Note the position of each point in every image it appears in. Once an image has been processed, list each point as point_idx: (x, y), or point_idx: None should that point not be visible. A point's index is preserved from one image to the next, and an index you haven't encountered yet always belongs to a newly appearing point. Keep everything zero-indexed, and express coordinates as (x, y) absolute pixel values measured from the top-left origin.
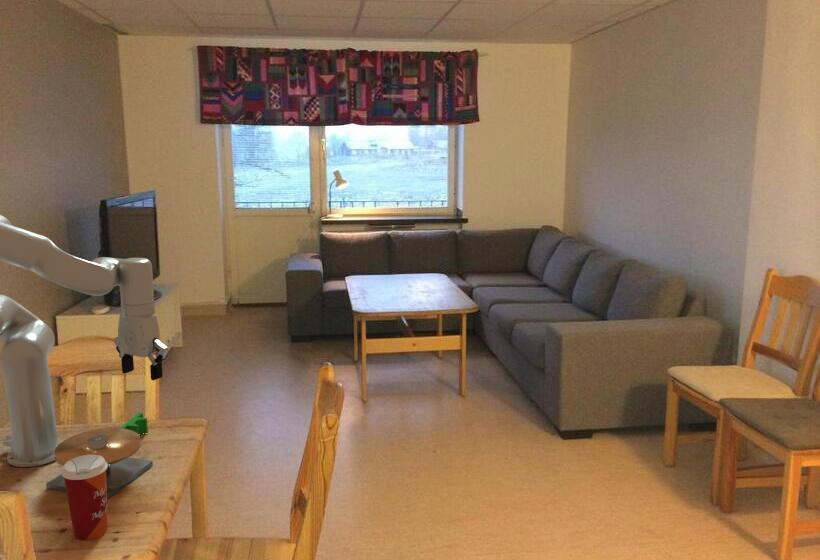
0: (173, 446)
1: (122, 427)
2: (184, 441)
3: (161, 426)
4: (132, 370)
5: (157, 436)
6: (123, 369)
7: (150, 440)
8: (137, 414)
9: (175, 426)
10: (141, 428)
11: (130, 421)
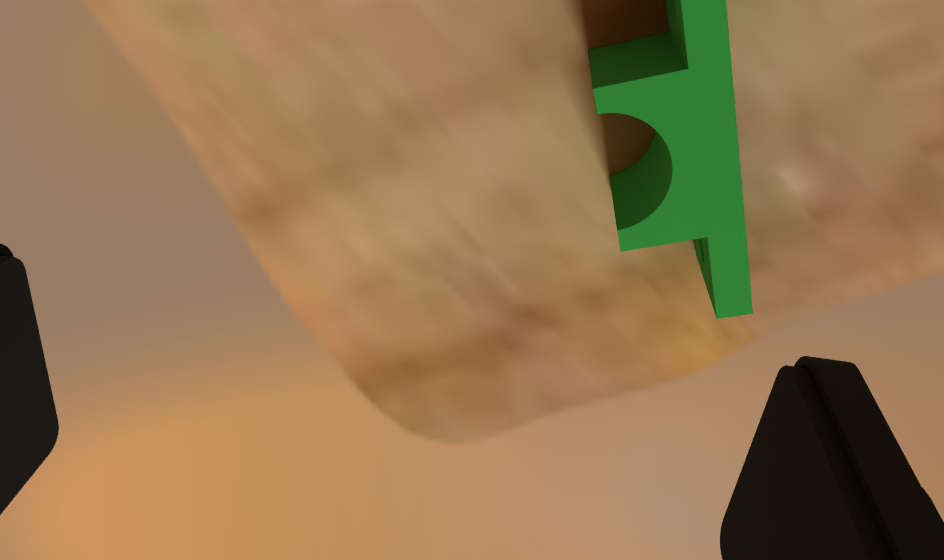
0: (287, 77)
1: (706, 15)
2: (278, 169)
3: (589, 307)
4: (728, 512)
5: (509, 173)
6: (833, 411)
7: (513, 101)
8: (741, 280)
9: (498, 333)
10: (644, 180)
11: (713, 148)
